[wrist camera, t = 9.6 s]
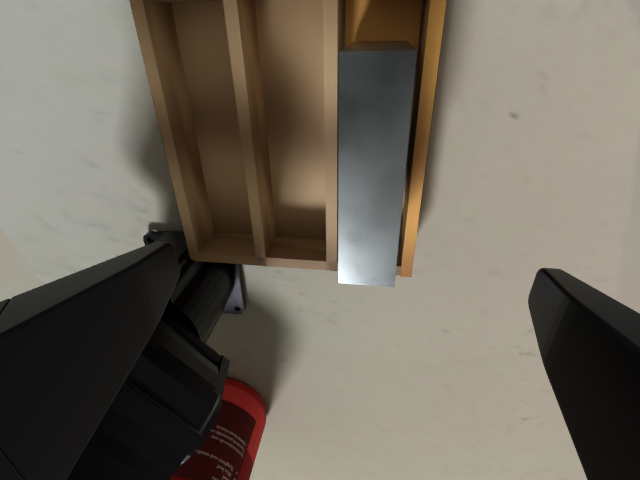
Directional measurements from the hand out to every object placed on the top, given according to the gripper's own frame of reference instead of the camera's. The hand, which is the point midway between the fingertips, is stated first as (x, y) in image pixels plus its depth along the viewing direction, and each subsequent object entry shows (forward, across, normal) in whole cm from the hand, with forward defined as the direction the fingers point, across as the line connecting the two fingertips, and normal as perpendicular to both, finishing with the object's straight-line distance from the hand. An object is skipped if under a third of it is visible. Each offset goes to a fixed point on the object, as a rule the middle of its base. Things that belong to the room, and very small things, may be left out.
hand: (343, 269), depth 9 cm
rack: (+13, +4, 0) cm, 13 cm away
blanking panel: (+12, 0, 0) cm, 12 cm away
